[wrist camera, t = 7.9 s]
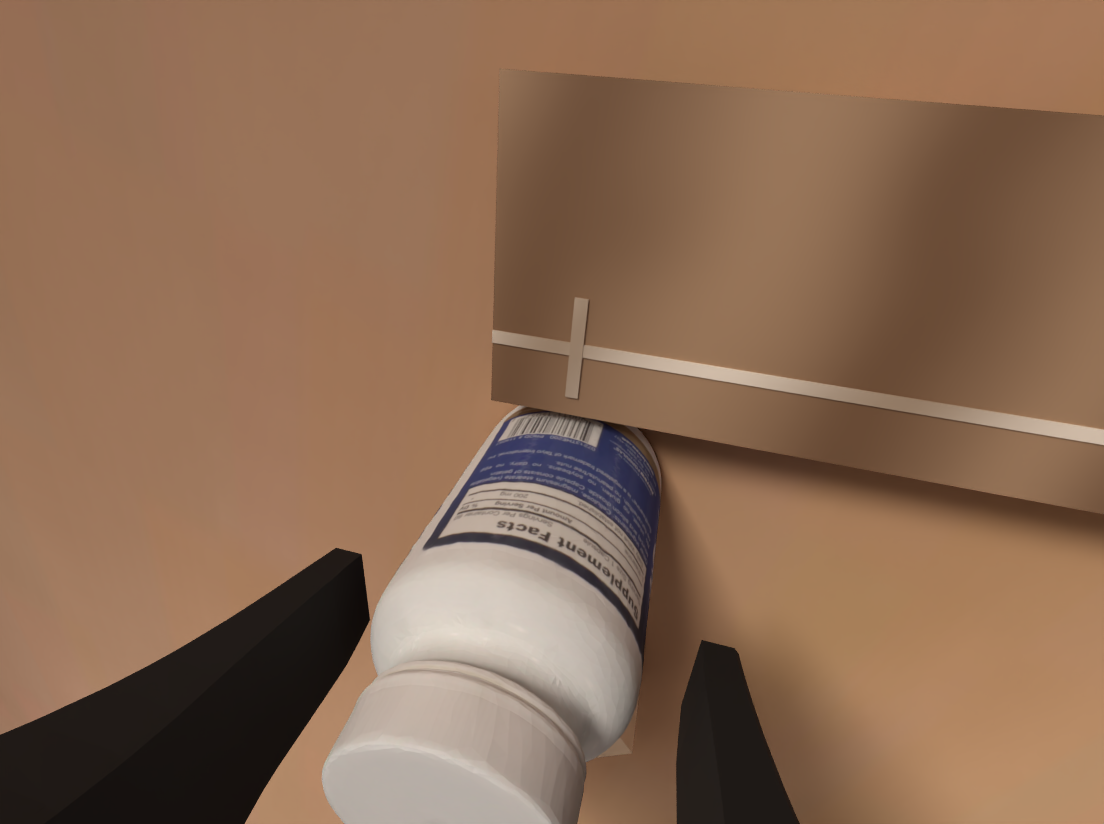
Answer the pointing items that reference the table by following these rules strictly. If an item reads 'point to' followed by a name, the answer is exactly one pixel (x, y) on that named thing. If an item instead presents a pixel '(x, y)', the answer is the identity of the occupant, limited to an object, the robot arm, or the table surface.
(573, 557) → the pill bottle
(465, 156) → the table surface
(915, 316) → the board
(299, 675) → the robot arm
